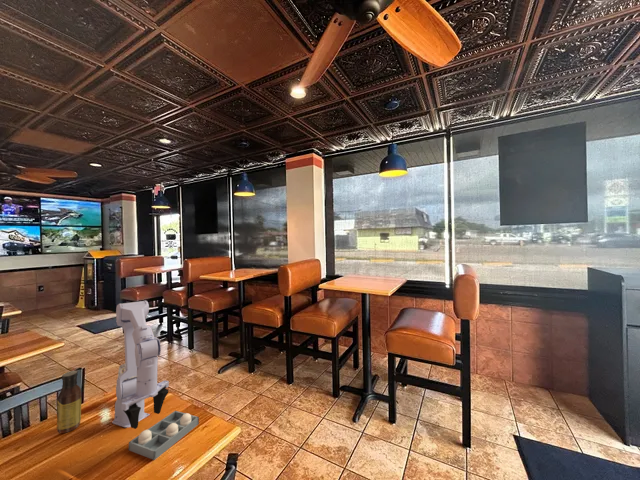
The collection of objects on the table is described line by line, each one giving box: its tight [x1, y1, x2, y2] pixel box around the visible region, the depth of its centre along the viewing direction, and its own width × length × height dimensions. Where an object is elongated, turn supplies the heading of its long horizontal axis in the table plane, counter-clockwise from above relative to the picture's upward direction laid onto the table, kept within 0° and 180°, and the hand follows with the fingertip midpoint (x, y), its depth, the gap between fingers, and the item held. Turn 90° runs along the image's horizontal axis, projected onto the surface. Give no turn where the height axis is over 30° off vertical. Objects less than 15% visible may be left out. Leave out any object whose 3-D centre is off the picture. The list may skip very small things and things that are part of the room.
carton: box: [128, 410, 200, 461], centre depth 87 cm, size 12×17×3 cm
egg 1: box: [138, 429, 152, 446], centre depth 83 cm, size 4×4×5 cm
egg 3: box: [180, 412, 192, 426], centre depth 91 cm, size 4×4×5 cm
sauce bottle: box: [56, 370, 82, 434], centre depth 92 cm, size 6×6×20 cm
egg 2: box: [166, 423, 178, 437], centre depth 86 cm, size 4×4×5 cm
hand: (146, 419), depth 83 cm, fingers open, 7 cm apart
